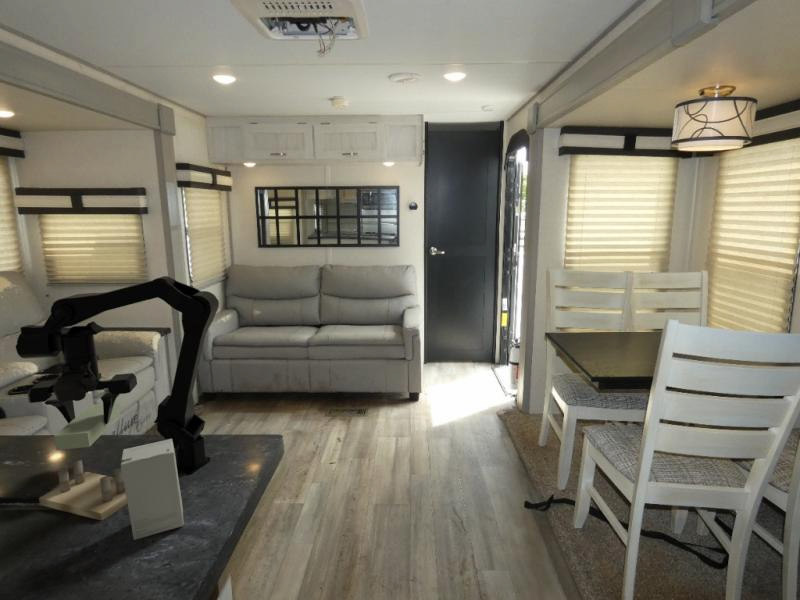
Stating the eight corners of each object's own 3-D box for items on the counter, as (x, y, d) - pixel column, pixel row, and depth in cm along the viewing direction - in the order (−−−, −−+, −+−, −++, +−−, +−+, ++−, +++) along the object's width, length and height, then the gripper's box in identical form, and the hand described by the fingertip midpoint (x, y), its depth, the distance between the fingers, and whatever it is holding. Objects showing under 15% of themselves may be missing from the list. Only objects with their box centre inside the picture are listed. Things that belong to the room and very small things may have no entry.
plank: (92, 417, 110) (90, 404, 110) (120, 414, 111) (118, 402, 111) (56, 450, 95) (54, 436, 94) (89, 446, 96) (87, 432, 95)
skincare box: (182, 510, 90) (175, 436, 88) (184, 528, 85) (176, 450, 82) (132, 522, 87) (122, 446, 84) (130, 542, 81) (120, 462, 79)
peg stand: (146, 490, 97) (143, 463, 96) (102, 520, 87) (97, 490, 86) (87, 478, 102) (84, 452, 101) (40, 505, 93) (35, 476, 91)
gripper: (6, 371, 90) (20, 448, 93) (116, 362, 94) (126, 436, 97) (36, 355, 101) (47, 424, 103) (133, 347, 105) (141, 414, 108)
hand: (90, 425), depth 103 cm, fingers closed on plank, 6 cm apart
